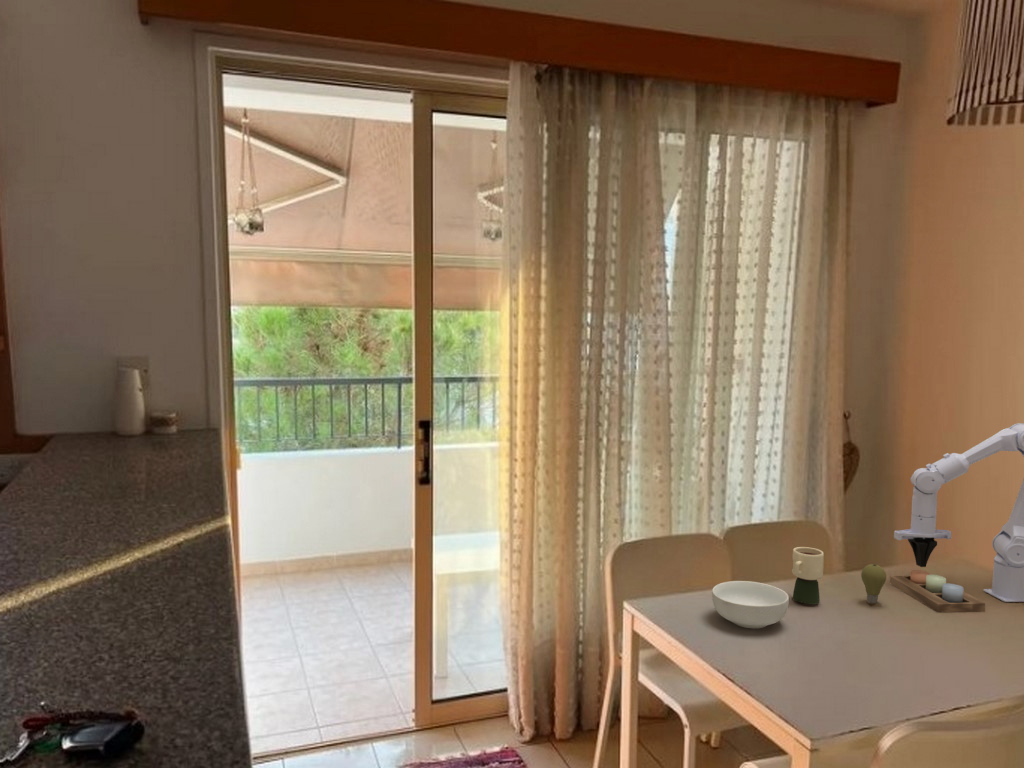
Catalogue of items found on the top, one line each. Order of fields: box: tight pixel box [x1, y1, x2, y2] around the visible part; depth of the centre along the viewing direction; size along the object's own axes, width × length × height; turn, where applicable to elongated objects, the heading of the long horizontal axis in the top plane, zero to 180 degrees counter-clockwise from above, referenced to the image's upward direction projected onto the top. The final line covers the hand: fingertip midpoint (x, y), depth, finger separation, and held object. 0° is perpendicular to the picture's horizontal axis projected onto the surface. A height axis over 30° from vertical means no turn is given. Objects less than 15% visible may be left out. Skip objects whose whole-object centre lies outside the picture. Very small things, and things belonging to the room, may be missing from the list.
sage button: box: [926, 574, 947, 593], centre depth 193 cm, size 4×4×4 cm
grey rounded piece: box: [942, 582, 964, 603], centre depth 187 cm, size 4×4×4 cm
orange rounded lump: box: [909, 569, 931, 584], centre depth 200 cm, size 4×4×4 cm
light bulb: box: [860, 563, 887, 606], centre depth 188 cm, size 6×6×10 cm
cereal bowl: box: [711, 580, 790, 629], centre depth 176 cm, size 17×17×7 cm
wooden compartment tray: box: [889, 575, 986, 613], centre depth 193 cm, size 12×20×2 cm, turn 5°
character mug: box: [791, 546, 825, 605], centre depth 188 cm, size 11×7×13 cm, turn 129°
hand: (921, 565), depth 199 cm, fingers closed
